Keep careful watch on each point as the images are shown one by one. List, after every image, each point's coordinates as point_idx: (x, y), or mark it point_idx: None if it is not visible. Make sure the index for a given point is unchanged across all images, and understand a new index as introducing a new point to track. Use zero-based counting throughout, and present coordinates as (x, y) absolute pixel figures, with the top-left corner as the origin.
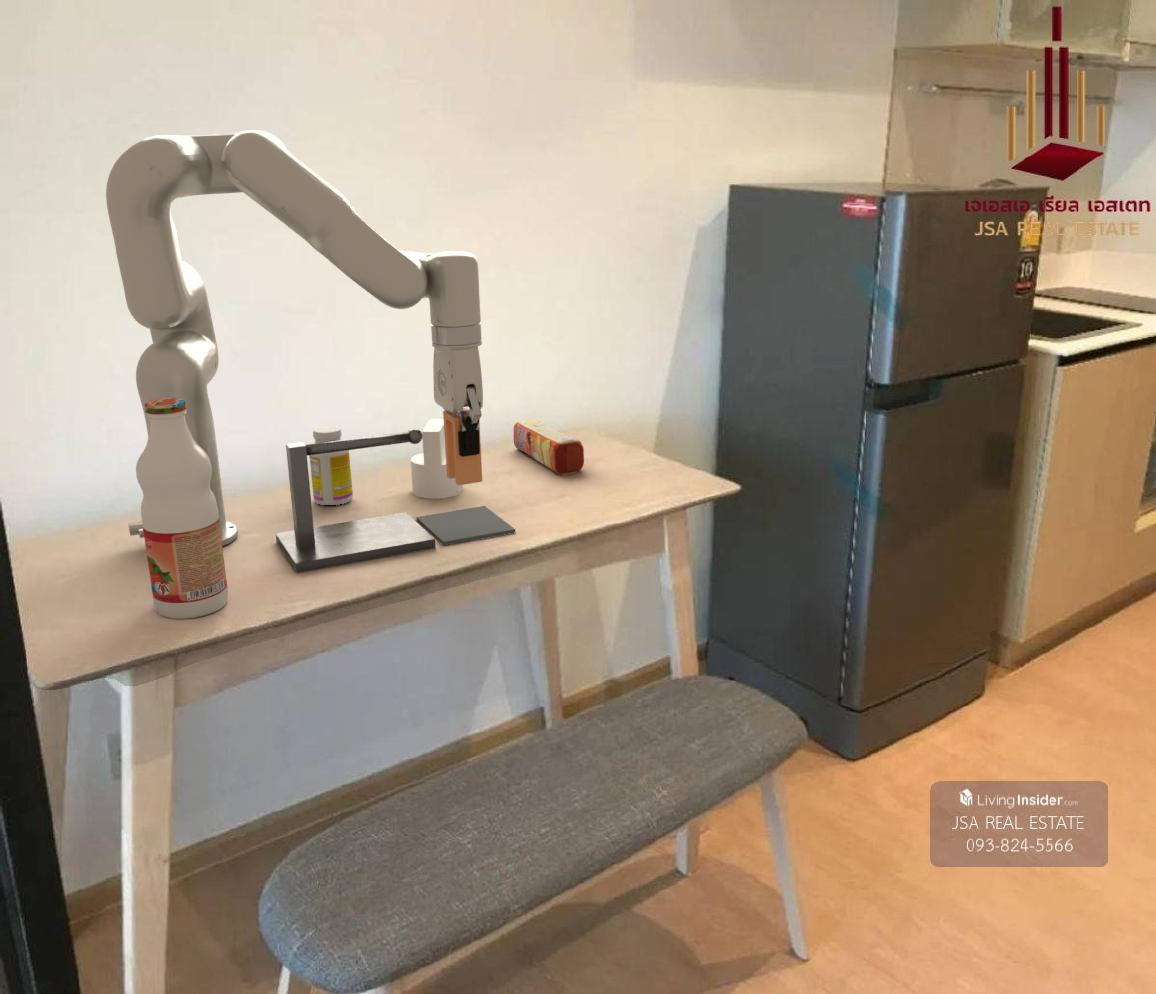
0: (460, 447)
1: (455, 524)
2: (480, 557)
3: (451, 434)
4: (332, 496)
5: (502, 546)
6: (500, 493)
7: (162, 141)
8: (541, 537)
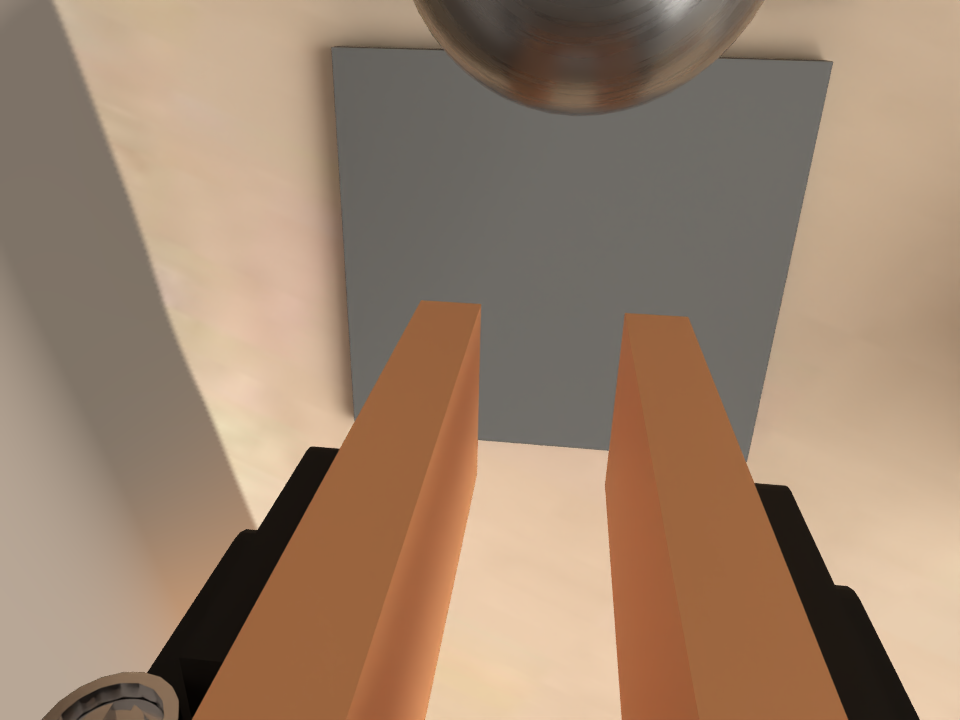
0: (281, 504)
1: (564, 221)
2: (116, 154)
3: (660, 616)
4: None
5: (220, 302)
6: (907, 601)
7: None
8: (264, 477)
